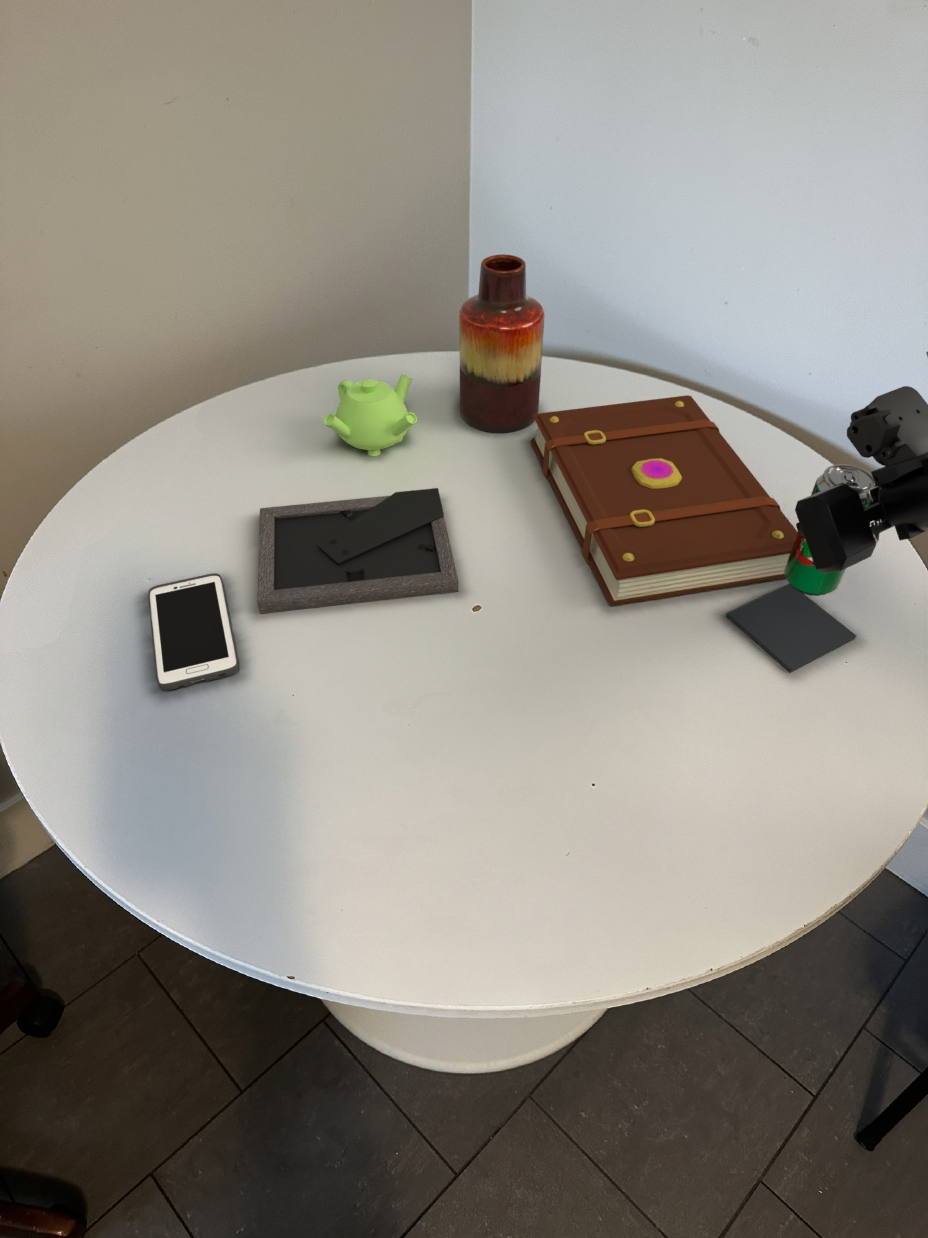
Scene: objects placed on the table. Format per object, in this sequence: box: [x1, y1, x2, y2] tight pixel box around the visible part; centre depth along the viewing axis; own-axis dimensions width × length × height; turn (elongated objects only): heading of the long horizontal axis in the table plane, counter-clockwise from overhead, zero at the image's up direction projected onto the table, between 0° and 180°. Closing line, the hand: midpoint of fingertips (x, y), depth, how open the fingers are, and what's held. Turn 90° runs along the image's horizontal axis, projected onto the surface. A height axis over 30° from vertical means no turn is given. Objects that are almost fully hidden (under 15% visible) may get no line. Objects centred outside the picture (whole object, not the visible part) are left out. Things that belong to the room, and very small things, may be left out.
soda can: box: [784, 463, 876, 597], centre depth 74 cm, size 5×5×12 cm
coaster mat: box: [726, 583, 857, 674], centre depth 83 cm, size 9×9×1 cm
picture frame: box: [256, 487, 459, 615], centre depth 91 cm, size 16×2×21 cm
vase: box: [458, 253, 546, 434], centre depth 105 cm, size 11×11×20 cm
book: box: [529, 394, 798, 607], centre depth 96 cm, size 23×32×5 cm
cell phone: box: [147, 572, 240, 691], centre depth 83 cm, size 8×15×1 cm, turn 19°
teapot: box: [323, 373, 418, 457], centre depth 105 cm, size 11×12×8 cm
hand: (819, 519), depth 75 cm, fingers closed on soda can, 5 cm apart
